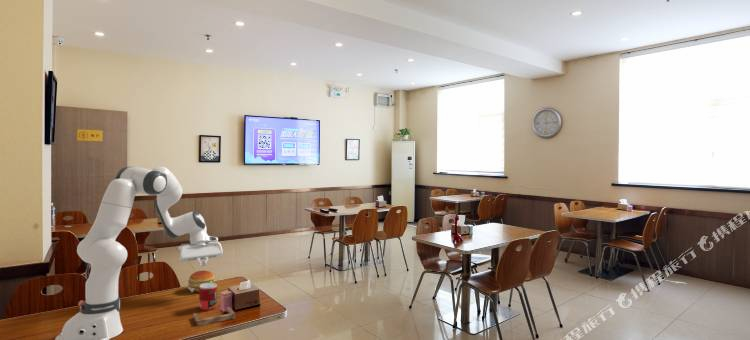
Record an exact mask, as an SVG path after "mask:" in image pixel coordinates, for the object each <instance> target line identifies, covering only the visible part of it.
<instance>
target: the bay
mask: <svg viewBox="0 0 750 340" xmlns="http://www.w3.org/2000/svg"><path fill="white" fill-rule="evenodd" d="M226 312H227V314H221V315H217V316H212V317H206V318H200V316H199V314H198V312H195V313H194V312H193V313H192V315H193V317H192V318H193V321H194V322H195V324H196V327H199V326H204V325H209V324H213V323H219V322H223V321H228V320H229V321H230V320H234V319H236V312H235V311H234V310H233V309H232V307H231V306H227V307H226Z"/></svg>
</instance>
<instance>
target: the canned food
mask: <svg viewBox="0 0 750 340" xmlns="http://www.w3.org/2000/svg"><path fill="white" fill-rule="evenodd" d="M198 294H199V296H198V299H199V300H198V303H199V306H198V307H199V309H200V310H201V311H205V312H207V311H212V310H215V309H216V308H217V306H218V285H217V283H215V282H214V283H204V284H201V285H200V287H199V292H198Z"/></svg>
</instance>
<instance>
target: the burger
mask: <svg viewBox="0 0 750 340" xmlns="http://www.w3.org/2000/svg"><path fill="white" fill-rule="evenodd" d="M215 282H216V278H215V275H214V273H212V272H211V271H209V270H198V271H194V272H193V273H192V274H190V276H189V278H188V282H187V283H188V285H187V288H188V290H189V291H190V293H199V287H200V285H201V284H204V283H215Z"/></svg>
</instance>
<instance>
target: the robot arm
mask: <svg viewBox="0 0 750 340" xmlns="http://www.w3.org/2000/svg"><path fill="white" fill-rule="evenodd" d="M138 194H141V195H149V196H156V198H155V199H154V206H155V210H156V212H157V215H158V217H159V220H160V222H161V224H162V227H163V231H164V234H165V236H166V237H168V238H170V239H177V238H179V237H181V236H183V235H186V234H189V243H182V244H180V245H179V246H178V248H177V249H178V252H179V261H180V262H183V263H184V262H190V261H196V262H197V263H198V264H199V266H200V267H207V265H208V264H207V263H208V260H209V259H215V258H222V255H223V254H224V250H223V247H222V244H221V242H219V238H218V237H217V236H211V235H208V232H207V230H208V229H207V224H206V221H205V217H204V216H203V214H202V213H200V212H198V211H195V210H193V211H190V212H187V213H184V214H182V215H181V214H180V215H179V216H176V217H171V216H170V213H169V209H170V208H171V207H172V206H173V205H175V204H176V203H178V201H180V199H181V198H182V195H183V187H182V185H181V183H180V182H179V180H178V178H177V177H176V176H175V175H174V173H172V171H171V170H170V169H168V167H166V166H156V167H154V168H152V169H150V168H145V167H136V166H126V167H122V168H121V169H120V170H119V171H118V172H117V173H116V175H115V179H113V180H111V181H110V182H109V184H108V186H107V188H106V190H105V191H104V194H103V197H102V200H101V202H100V205H99V207H98V211H97V214H96V217H95V220H94V222H93V223H92V226H91V227H90V229H89V231H88V233H87V234H86V235H85V237H84V238H83V239H82V240H81V241H79V243H78V244H77V247H76V248H77V249H76V254H77V255H78V257H79V258H80V259H81V260H82V261H83V262H85V263H86V264H90V266H91V267H90V273H89V275H88V279H87V280H86V281H85V284H84V285H85V300H80V301H78V308H79V310H78V311H79V312H77V313H76V314H75V315H73V316H72V317H70V318H69V319H68V320H67V321H66V322H65V323H64V325H63V326H62V330H61V332H60V333H59V334H58V335H57V336H56V337H55V339H54V340H110V339H113V338H115V337H117V336H119V335H120V334H121V333H122V332H123V331H124V328H123V325H122V322H121V321H122V320H121V317H120V308H121V298H120V296H119V278H120V273H121V269H122V266H123V265H124V264H125V262H126V261H127V258H128V250H127V249H126V247H125V246H124V245H122V244H121V243H120V242H118V241H117V238H118V236H119V235H120V234H121V232H122V230H124V229H125V228H126V227H127V226H128V225H127V224H128V221H129V218H130V215H131V211H132V209H133V205H134V202H135V201H134V200H135V197H136V195H138ZM202 260H204V261H202Z"/></svg>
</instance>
